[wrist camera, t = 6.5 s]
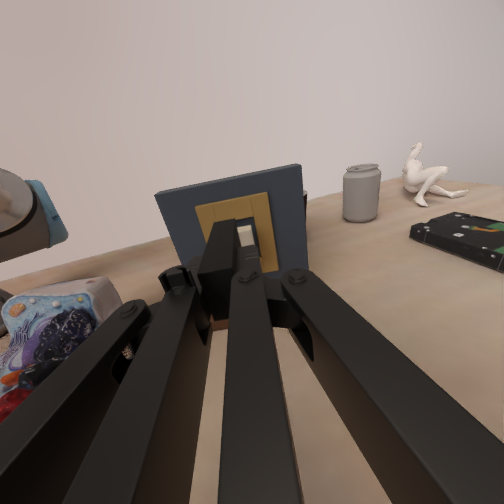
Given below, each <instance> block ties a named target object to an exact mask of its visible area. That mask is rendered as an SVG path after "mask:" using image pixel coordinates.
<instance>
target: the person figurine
mask: <svg viewBox="0 0 504 504" xmlns="http://www.w3.org/2000/svg"><path fill="white" fill-rule="evenodd" d="M422 148H423V144H422V143H417V144H416V145H413V146H412V148H411V149H412V150H413V149H415V150H413V151H412V152H411V153H410V155H409V156H408V157H407V159H406V161H405V166H404V168H403V170H402V172H403V174H402V177H403V180H404V183H405V185H404V187H405V188H406V189H407V190H408V191H409V192H418V191H419V193H418V194H417V195H416V196H415V198H414V199H413V200H414V201H416V202H417V203H418V204H419V205H422V206H425V207H428V205H427V204H426V202H425V201H424V199H423V195H424V193H425V192H426V191H427V190H429V192H430V193H436V194H442V195H446V196H449V197H450V198H456V197H461V196H464V195H465V194H466V193H467V192H468V189H467V190H462V191H456V192H449V191H446V190H444V189H442V188H441V187H439V186H437V185H434V184H435V183H436V182H437V181H438V180H439V179H440V178H441V177H442V176H444V175H445V174H446V173H447V172H448V170H449V168H448V167H430V168H427V169H423V168H422V166H423V165H422V163H421V162H420V161H419V160H416V159H415V157H416V156H417V155H418V154H419V153H420V151H421V149H422Z"/></svg>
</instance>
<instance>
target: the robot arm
mask: <svg viewBox="0 0 504 504" xmlns="http://www.w3.org/2000/svg"><path fill="white" fill-rule="evenodd" d="M67 238H68V232H67V230H66V228H65V226H64V224H63V222H62V220H61V218H60V216H59V214H58V213H57V211H56V209H55V207H54V205H53V203H52V201H51V199H50V197H49V195H48V193H47V191H46V190H45V188H44V186H43V184H42V183H41V182H40V181H38V180H25V181H23V180H22V179H21V178H20V177H18V176H17V175H15V174H13V173H11V172H9V171H6V170H4V169H1V168H0V263H1V262H5V261H8V260H10V259H13V258H16V257H19V256H23V255H26V254H29V253H32V252H35V251H38V250H41V249H44V248H50V247H52V246H53V245H56V244H58V243H61V242H63V241H65V240H66V239H67ZM158 278H159V280H160V282H161V284H162V286H163V288H164V291H165V295H164V297H163V299H162V301H160V302H157V303H155V304H152V305H150V306H147V304H146V302H145V301H144V300H141V299H137V300H132V301H130V302H126V303H125V304H124V305H122V306H120V307H119V308H118V309H116V310H115V311H114V312H113V313H112V314H111V315H110V316H109V317H108V318H107V319H106V320H105V321H104V322H103V323H102V324H101V325H100V326H99V327H98V328H97V329H96V330H95V331H94V332H93V333H92V334H91V335H90V336H89V337H88V338H87V339H86V340H85V341H84V342H83V343H82V344H81V345H80V346H79V347H78V348H77V349H76V350H75V351H74V352H72V353H71V354H70V355H69V356H68V357H67V358H66V359H65V360H64V361H63V362H62V363H61V364H60V365H59V366H58V367H57V368H56V369H55V370H54V371H53V372H52V373H51V374H50V375H49V376H48V377H47V378H46V379H45V380H44V381H43V382H42V383H41V384H40V385H39V386H38V387H37V388H36V389H35V390H34V391H33V392H32V393H31V394H30V395H29V396H28V397H27V398H26V399H25V400H24V401H23V402H22V403H21V404H20V405H19V406H18V407H17V408H16V409H15V410H14V411H13V412H12V413H11V414H10V415H9V416H8V417H6V418H5V419H4V420H3V421H2V422H1V423H0V504H189V500H190V492H191V485H192V478H193V471H194V463H195V456H196V449H197V442H198V434H199V427H200V420H201V413H202V405H203V398H204V391H205V384H206V376H207V369H208V362H209V355H210V347H211V340H212V333H213V328H212V325H211V322H210V318H211V314H212V317H213V319H214V322H215V321H221V320H226V319H229V325H228V341H227V357H226V373H225V389H224V405H223V421H222V437H221V454H220V470H219V486H218V502H217V504H305V503H304V498H303V492H302V487H301V481H300V476H299V470H298V465H297V459H296V454H295V448H294V443H293V437H292V432H291V426H290V421H289V415H288V410H287V404H286V398H285V393H284V387H283V382H282V376H281V371H280V365H279V360H278V354H277V349H276V343H275V338H274V331H273V327H279V328H288V330H289V333H290V334H291V336H292V338H293V339H294V341H295V343H296V344H297V346H298V347H299V349H300V351H301V352H302V354H303V356H304V357H305V359H306V361H307V362H308V364H309V366H310V367H311V369H312V371H313V372H314V374H315V376H316V377H317V379H318V381H319V382H320V384H321V386H322V387H323V389H324V391H325V392H326V394H327V396H328V397H329V399H330V401H331V402H332V404H333V406H334V407H335V409H336V411H337V412H338V414H339V416H340V417H341V419H342V421H343V422H344V424H345V426H346V427H347V429H348V431H349V432H350V434H351V436H352V437H353V439H354V441H355V442H356V444H357V446H358V447H359V449H360V451H361V452H362V454H363V456H364V457H365V459H366V461H367V462H368V464H369V466H370V467H371V469H372V471H373V472H374V474H375V475H376V477H377V479H378V480H379V482H380V484H381V485H382V487H383V489H384V490H385V492H386V494H387V495H388V497H389V499H390V500H391V502H392V504H504V443H502V442H501V441H500V440H499V439H498V438H497V437H496V436H495V435H493V434H492V433H491V432H490V431H489V430H488V429H487V428H486V427H485V426H483V425H482V424H481V423H480V422H479V421H478V420H477V419H476V418H475V417H473V416H472V415H471V414H470V413H469V412H468V411H467V410H466V409H464V408H463V407H462V406H461V405H460V404H459V403H458V402H457V401H456V400H454V399H453V398H452V397H451V396H450V395H449V394H448V393H447V392H445V391H444V390H443V389H442V388H441V387H440V386H439V385H438V384H437V383H435V382H434V381H433V380H432V379H431V378H430V377H429V376H428V375H427V374H425V373H424V372H423V371H422V370H421V369H420V368H419V367H418V366H416V365H415V364H414V363H413V362H412V361H411V360H410V359H409V358H408V357H406V356H405V355H404V354H403V353H402V352H401V351H400V350H399V349H398V348H396V347H395V346H394V345H393V344H392V343H391V342H390V341H389V340H387V339H386V338H385V337H384V336H383V335H382V334H381V333H380V332H379V331H377V330H376V329H375V328H374V327H373V326H372V325H371V324H370V323H369V322H367V321H366V320H365V319H364V318H363V317H362V316H361V315H360V314H358V313H357V312H356V311H355V310H354V309H353V308H352V307H351V306H350V305H348V304H347V303H346V302H345V301H344V300H343V299H342V298H341V297H340V296H338V295H337V294H336V293H335V292H334V291H333V290H332V289H331V288H329V287H328V286H327V285H326V284H325V283H324V282H323V281H322V280H321V279H319V278H318V277H317V276H316V275H315V274H314V273H313V272H311V271H309V270H307V269H303V268H295V269H291V270H288V271H286V272H284V273H283V274H282V275H281V278H280V279H275V278H269V277H267V276H265V275H264V274H263V273H262V268H261V263H260V258H259V252H258V248H257V247H256V246H255V245H248V246H241V242H240V238H239V234H238V229H237V225H236V221H235V218H233V219H228V220H223V221H218V222H214V223H213V226H212V229H211V232H210V235H209V238H208V241H207V244H206V247H205V250H204V253H203V255H200V256H195V257H193V258H192V259H191V260H190V261H189V262H188V264H187V266H185V265H179V266H175V267H172V268H169V269H167V270H165V271H164V272H163V273H161V274H160V275H159V277H158ZM13 296H14V295H12V294H10V293H8V292H6V291H4V290H2V289H0V337H1V336H2V335H3V334H5V333H6V332H8V329H7V327H6V325H5V323H4V321H3V318H2V315H1V310H2V307H3V305H4V304H5V303H6V302H7V301H8V300H9V299H10V298H11V297H13ZM126 346H128V347H129V349H130V350H131V352H132V355H131V356H130V357H129V358H128V359H126V358H125V356H124V355H123V354H122V351H123V350H124V349H125V347H126Z"/></svg>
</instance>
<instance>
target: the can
mask: <svg viewBox="0 0 504 504" xmlns="http://www.w3.org/2000/svg"><path fill="white" fill-rule="evenodd" d="M377 167H378V164H362V165H356V166H351V167H348V168H347V169H346V170H347V172H346V173H345V174H344V176H343V217H344V218H346V219H347V220H348V221H351V222H366V221H369V220H372V219H373V218H374V217H375V216H376V215H377V210H378V200H379V190H380V179H381V171H380V170H379V169H378V168H377Z"/></svg>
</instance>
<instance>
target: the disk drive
mask: <svg viewBox="0 0 504 504" xmlns="http://www.w3.org/2000/svg"><path fill="white" fill-rule="evenodd" d="M409 237H411V238H413V239H414V240H417V241H419V242H422V243H425V244H427V245H430V246H433V247H436V248H438V249H441V250H444V251H447V252H449V253H452V254H456V255H458V256H460V257H463V258H465V259H468V260H471V261H474V262H476V263H479V264H482V265H485V266H487V267H489V268H493V269H495V270H498V271H501V272H504V222H502V221H497V220H492V219H487V218H482V217H478V216H473V215H469V214H464V213H458V212H452V213H450V214H447V215H444V216H440V217H437V218H434V219H431V220H430V221H429V222H427V223H418V224H415V225H412V226H411V230H410V236H409Z"/></svg>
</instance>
